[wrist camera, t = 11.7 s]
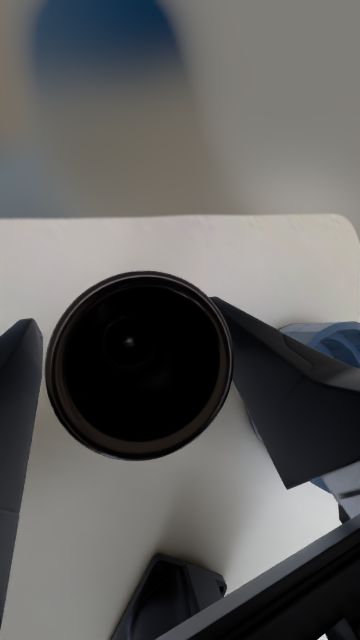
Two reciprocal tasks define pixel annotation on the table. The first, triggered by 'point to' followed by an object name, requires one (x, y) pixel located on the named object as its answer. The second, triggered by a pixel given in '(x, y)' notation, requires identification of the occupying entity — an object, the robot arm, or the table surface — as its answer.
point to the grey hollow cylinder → (139, 365)
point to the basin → (328, 349)
